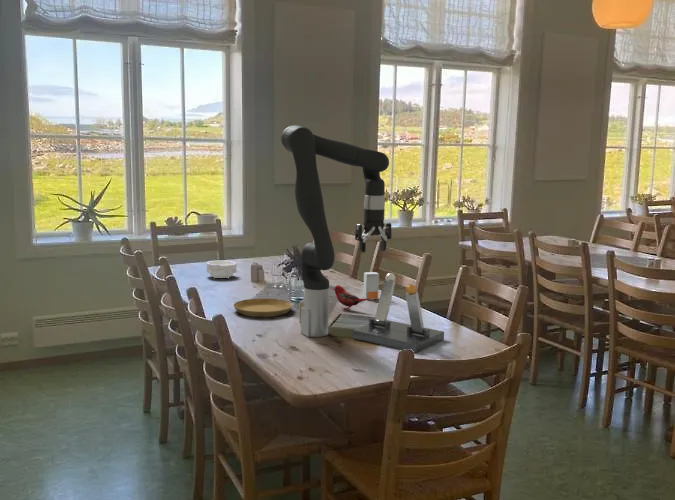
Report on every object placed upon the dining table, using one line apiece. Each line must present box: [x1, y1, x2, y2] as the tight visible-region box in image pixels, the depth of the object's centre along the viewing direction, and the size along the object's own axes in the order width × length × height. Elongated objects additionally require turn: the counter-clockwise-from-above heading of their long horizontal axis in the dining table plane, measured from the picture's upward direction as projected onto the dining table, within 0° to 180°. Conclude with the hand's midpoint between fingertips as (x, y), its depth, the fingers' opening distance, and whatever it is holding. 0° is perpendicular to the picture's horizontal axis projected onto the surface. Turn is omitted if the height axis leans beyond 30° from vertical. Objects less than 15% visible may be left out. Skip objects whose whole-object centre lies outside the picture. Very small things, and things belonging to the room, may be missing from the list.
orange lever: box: [405, 283, 425, 336], centre depth 221 cm, size 4×5×20 cm
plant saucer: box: [233, 297, 293, 318], centre depth 265 cm, size 24×24×3 cm
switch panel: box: [351, 317, 445, 354], centre depth 230 cm, size 20×26×6 cm
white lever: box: [372, 272, 396, 327], centre depth 236 cm, size 4×5×20 cm
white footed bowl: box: [206, 260, 237, 279], centre depth 332 cm, size 15×15×8 cm
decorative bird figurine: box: [332, 284, 370, 311], centre depth 269 cm, size 3×18×10 cm, turn 59°
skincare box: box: [362, 271, 380, 301], centre depth 291 cm, size 6×4×12 cm
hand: (373, 251), depth 237 cm, fingers open, 8 cm apart
